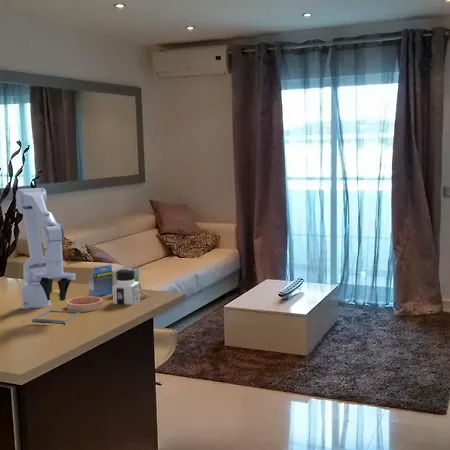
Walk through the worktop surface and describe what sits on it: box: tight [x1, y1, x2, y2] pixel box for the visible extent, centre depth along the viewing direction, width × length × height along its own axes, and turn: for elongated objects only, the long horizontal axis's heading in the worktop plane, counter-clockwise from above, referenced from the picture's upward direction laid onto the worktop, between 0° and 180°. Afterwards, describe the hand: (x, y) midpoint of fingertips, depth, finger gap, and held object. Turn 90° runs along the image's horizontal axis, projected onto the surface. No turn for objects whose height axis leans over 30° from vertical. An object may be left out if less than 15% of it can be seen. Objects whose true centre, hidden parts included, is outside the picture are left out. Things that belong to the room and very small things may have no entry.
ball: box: [50, 289, 62, 304], centre depth 209 cm, size 4×4×4 cm
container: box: [112, 268, 141, 305], centre depth 228 cm, size 8×8×13 cm
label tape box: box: [88, 264, 113, 297], centre depth 241 cm, size 9×4×12 cm, turn 136°
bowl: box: [66, 295, 104, 313], centre depth 221 cm, size 13×13×3 cm
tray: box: [31, 309, 82, 325], centre depth 210 cm, size 12×12×1 cm
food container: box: [114, 266, 142, 284], centre depth 243 cm, size 12×6×10 cm, turn 148°
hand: (56, 299), depth 209 cm, fingers closed on ball, 4 cm apart
